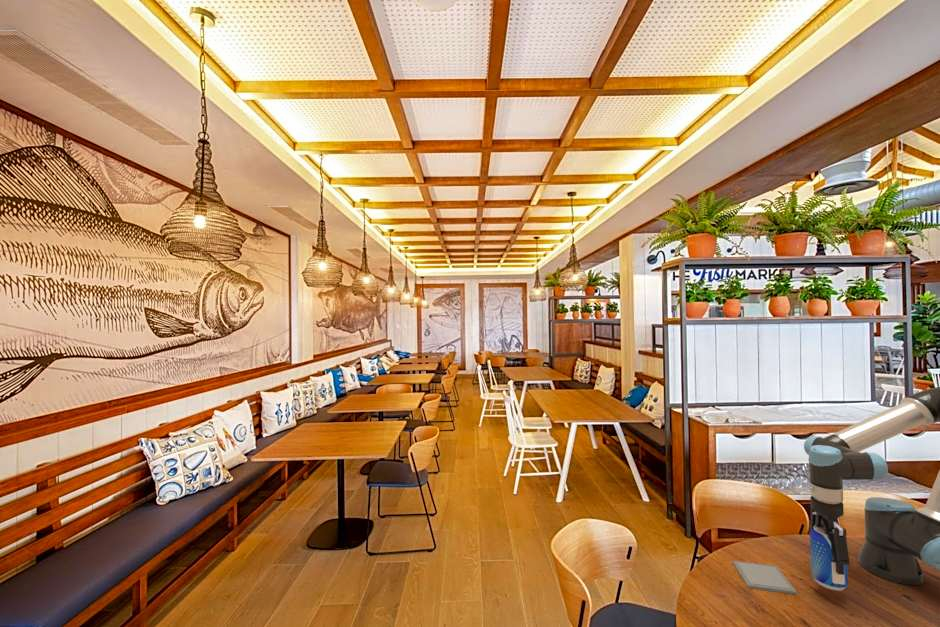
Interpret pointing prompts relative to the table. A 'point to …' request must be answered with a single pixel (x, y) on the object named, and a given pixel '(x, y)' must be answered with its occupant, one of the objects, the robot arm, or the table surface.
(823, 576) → the beer can
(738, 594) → the table surface
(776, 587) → the plate
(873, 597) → the table surface
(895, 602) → the table surface
